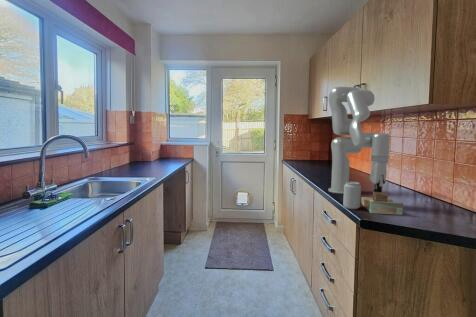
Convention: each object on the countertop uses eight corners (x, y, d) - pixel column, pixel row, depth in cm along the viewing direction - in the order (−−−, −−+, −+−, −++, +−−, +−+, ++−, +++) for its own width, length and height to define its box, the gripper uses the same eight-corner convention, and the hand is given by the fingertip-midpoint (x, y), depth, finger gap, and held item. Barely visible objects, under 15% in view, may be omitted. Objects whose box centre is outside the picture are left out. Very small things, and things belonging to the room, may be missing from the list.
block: (372, 200, 146) (373, 191, 145) (383, 200, 145) (384, 192, 144) (375, 202, 141) (376, 194, 140) (387, 203, 140) (387, 194, 139)
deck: (361, 203, 152) (361, 193, 151) (389, 204, 149) (389, 194, 149) (370, 213, 134) (371, 201, 133) (402, 214, 132) (403, 203, 131)
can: (349, 210, 138) (350, 184, 137) (339, 206, 146) (340, 181, 144) (363, 209, 140) (365, 183, 139) (353, 205, 148) (354, 180, 146)
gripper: (367, 157, 153) (365, 193, 155) (375, 160, 139) (373, 200, 140) (383, 158, 152) (381, 194, 154) (393, 161, 137) (390, 201, 139)
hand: (377, 197), depth 147 cm, fingers closed
